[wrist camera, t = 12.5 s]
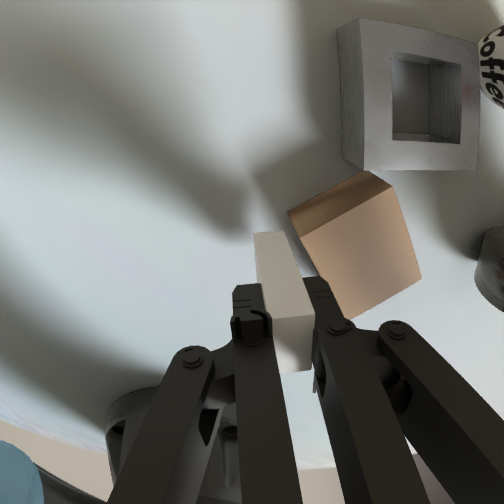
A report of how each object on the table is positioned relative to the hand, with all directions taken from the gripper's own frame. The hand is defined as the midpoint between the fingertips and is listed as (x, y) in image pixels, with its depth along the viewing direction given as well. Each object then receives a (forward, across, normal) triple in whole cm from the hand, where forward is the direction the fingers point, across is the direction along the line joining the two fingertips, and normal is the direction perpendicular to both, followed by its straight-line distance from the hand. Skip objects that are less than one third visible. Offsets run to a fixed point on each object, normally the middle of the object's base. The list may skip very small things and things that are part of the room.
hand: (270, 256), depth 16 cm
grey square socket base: (+2, +8, +8) cm, 11 cm away
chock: (+2, +5, 0) cm, 5 cm away
